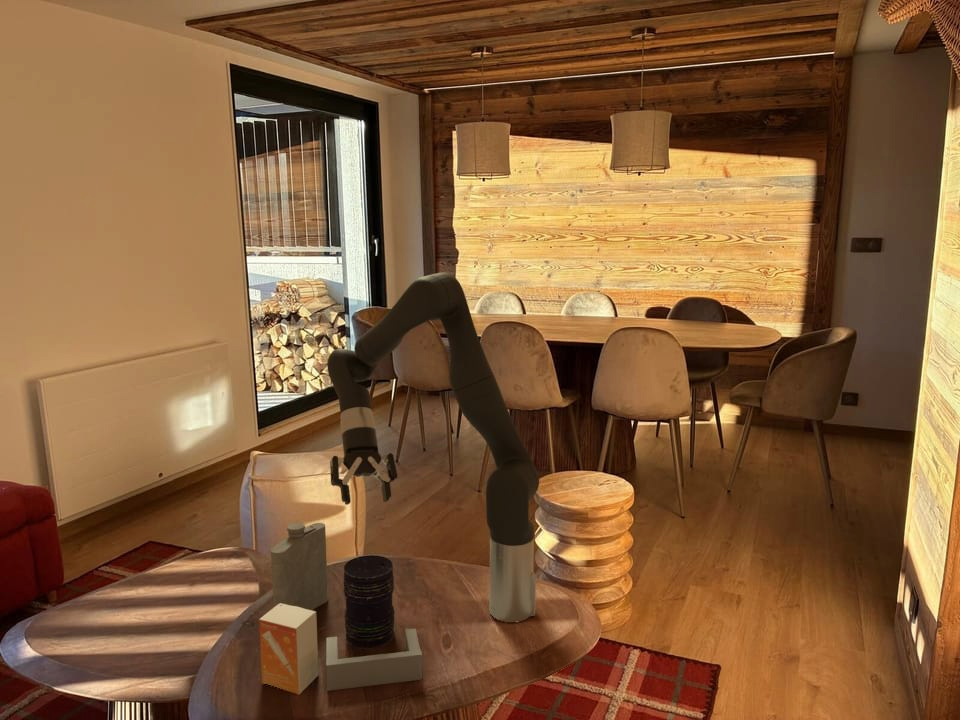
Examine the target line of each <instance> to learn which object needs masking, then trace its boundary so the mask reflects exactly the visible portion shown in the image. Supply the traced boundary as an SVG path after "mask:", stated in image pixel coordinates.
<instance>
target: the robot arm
mask: <svg viewBox="0 0 960 720" xmlns="http://www.w3.org/2000/svg"><path fill="white" fill-rule="evenodd" d="M472 318H473V317H472V314H471V310H470V307H469V304H468V300H467V298H466V294H465V292H464V289H463V287H462V284H461V283H460V282H459V280H458V278H457V277H455V276H454V275H453V274H452V273H449V272H446V271H445V272H444V271H443V272H438V273H437V272H436V273H432V274H428V275H425V276H421V277H419V278H418V277H417V278H416V279H415V280H414V281H413V282H412V283H410V285H409V286H408V287H407V288H406V289H405V291H404V292H403V293H402V295H401V296H400V297H399V299H398V300H397V301H396V302H395V304H394V305H393V306H392V307H391V309H390V310H388V312H387V313H386V314H385V315H384V316H383V317H382V318H381V319H380V320H379V321H378V322H377V323H375V324H374V325H373V326H372V327H370V329H368V330H367V331H365V333H363V334H362V335H361V336H360V337H359V338H357V340H356V342H355V343H354V350H351V349H345V348H337V349H334V350H333V351H332V352H331V353H330V354H329V356H328V359H327V364H326V365H327V366H326V367H327V373H328V376H329V379H330V381H331V384H332V387H333V389H334V390H335V394H336V395H337V398H338V402H339V403H338V404H339V410H340V411H339V413H340V433H341V439H342V448H343V457H338V456H337V455H333V456H332V457H331V459H330V461H329V465H330V467H329V468H330V484H331V486H333V487H335V486H336V487H338V488H339V489H340V496H341V497H340V498H341V501H342V503H344V504H345V505H346V506H347V505H350V504H351V501H352V500H351V493H350V492H351V491H350V485H349V484H348V483H349V482H350V480H351V479H352V477H353V476H355V477H356V478H358V477H362V476H364V477H370V476H373V477H374V479H376V480H378V481H379V482H380V484H381V485H380V487H381V494H382V501H383V503H386V502H389V501H390V498H392V491H391V485H390V484H391V483H394V481H395V480H396V479H397V478H398V472H397V467H396V463H395V458H394V454H393V453H391V452H390V453H388V454H385V455H384V454H383V455H381V453H380V452H379V446H378V439H377V431H376V424H375V423H376V422H375V419H374V415H373V410H372V402H371V401H372V400H371V395H370V392H369V389H368V388H367V387H365V386H363V385H361V384H359V383H361V382H364V381H367V380H369V379H370V378H371V377H372V376H373V374H374V372H375V371H376V369H377V367H378V366H379V364H380V362H381V361H382V360H384V359H385V358H386V357H388V356H389V355H390V354H392V353H393V352H394V351H395V350H396V349H397V348H398V347H399V345H400V344H401V343H402V341H403V339H404V337H405V336H406V335H407V334H408V333H409V332H410V331H412V330H413V329H415V328H417V327H419V326H421V325H423V324H425V323H427V322H430V321H436V320H440V322H441V324H442V326H443V330H444V331H445V334H446V337H447V341H448V349H449V359H448V361H449V362H448V377H449V379H448V380H449V385H450V387H451V391H453V392H452V393H453V395H454V397H455V400H456V403H457V404H458V407H459V409H460V411H461V413H462V414H463V416H464V418H465V419H466V420H467V421H468V422H469V424H470V425H471V426H472V427H473V428H474V429H475V430H476V431H477V432H478V433H479V434H480V436H481V437H482V438H483V440H485V443H486V444H487V446H488V447H489V450H490V453H491V454H492V457H493V460H494V463H495V467H496V469H495V470H493V471H492V473H490V475H489V476H488V479H487V480H486V488H485V508H486V509H485V510H486V512H485V513H486V523H487V527H488V529H489V587H488V588H489V590H488V591H489V593H488V595H489V597H488V599H489V600H488V606H489V607H488V608H489V610H488V611H490V612H489V615H490V614H491V615H492V616H493V617H494V618H493V617H492V616H491V615H490V616H491V617H492V618H493V619H495V618H496V619H497V621H499V620H501V621H500V622H502V621H505V622H504V623H507V622H516V621H521V620H524V619H526V618H527V617H529V616H531V615H535V616H536V599H537V598H536V595H537V594H536V587H537V575H536V572H535V571H534V556H535V555H534V545H535V544H534V543H535V542H534V541H535V538H534V537H535V526H534V524H533V521H531V520H530V519H529V518H530V517H529V516H530V515H529V505H530V504H529V503H530V502H529V501H530V500H531V499H532V498H533V497H534V496H535V495H536V493H537V492H538V490H539V487H540V477H539V472H538V469H537V468H536V466H535V464H534V462H533V460H532V458H531V456H530V454H529V453H528V450H527V449H526V446H525V445H524V443H523V441H522V439H521V437H520V435H519V433H518V432H517V429H516V427H515V424H514V421H513V419H512V416H511V414H510V411H509V410H508V407H507V404H506V402H505V400H504V397H503V394H502V391H501V389H500V387H499V384H498V381H497V379H496V377H495V375H494V372H493V370H492V368H491V366H490V363H489V362H488V359H487V356H486V354H485V351H484V349H483V346H482V344H481V341H480V337H479V336H478V333H477V330H476V327H475V324H474V321H473V319H472ZM381 462H382V463H383V464H384V466H385V467H386V470H387V472H385V470H384V469H383V467H381V465H380V464H381ZM342 464H343V466H345V468H347V472H346V474H345V475H344V477H343V478H340V471H339V470H340V469H339V468H341V466H342ZM496 619H495V620H496Z"/></svg>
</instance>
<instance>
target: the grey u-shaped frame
mask: <svg viewBox="0 0 960 720" xmlns="http://www.w3.org/2000/svg"><path fill="white" fill-rule="evenodd" d="M404 634H405V636H404V640H405V642H404V643H405V644H404V645H405V651H400V652H392V653H390V652H389V653H380V654H379V653H378V654H372V655H371V654H370V655H364V656H354V657H346V658H339V654H338V651H339V649H338V636H330V637H326V652H325V653H326V660H325V666H326V668H325V670H326V691H327V692H328V691H338V690H343V689H353V688H354V689H355V688H361V687H362V688H363V687H368V686H369V687H370V686H378V685H379V686H380V685H385V684H393V683H395V684H397V683H403V682H404V683H405V682H411V681H419V680H423V654H422V653H423V652H422V649H420V648H421V647H420V643H419V639H418V634H417V630H416V628H405V629H404Z"/></svg>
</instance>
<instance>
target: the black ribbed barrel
mask: <svg viewBox="0 0 960 720" xmlns="http://www.w3.org/2000/svg"><path fill="white" fill-rule="evenodd" d="M393 569H394V563H393V561H392V560H391V559H389V558H388V557H386V556H383V555H376V554H375V555H374V554H371V555H368V554H367V555H361V556H357V557H355V558H351V559H349V561H347V562H346V563H345V564H344V566H343V593H344V594H343V595H344V596H345V610H344V627H345V640H346V641H347V643H348V644H349V645H351V647H354V648H359V649H362V650H363V649H364V650H365V649H367V650H368V649H376V648H379V647H382V646H385V645H386V644H388V643H390V642H391V641H392V640H393V638H394V636H395V630H394V627H395V612H396V611H395V607H394V605H393V593H394V589H395V585H394V584H395V581H394V577H395V576H394V570H393Z"/></svg>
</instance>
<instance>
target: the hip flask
mask: <svg viewBox="0 0 960 720" xmlns="http://www.w3.org/2000/svg"><path fill="white" fill-rule="evenodd" d="M286 531H287V532H288V536H286V537H284V538H283V539H282V540H281V541H279V542H278V543H276V544H275V545H274V546H273V547H272V548H270V563H271V564H270V565H271V581H272V583H271V584H272V587H271V588H272V602H273V603H272V604H273V608H274V607H275V606H277V605H278V604H279V603H282V604H286V605H291V606H297V607H301V608H304V609H308V610H312V611H315V610H316V609H317V608H318V607H321V606H322V605H323V604H326V603H327V602H328V601H329V597H328V596H329V591H328V590H329V589H328V569H327V568H328V567H327V566H328V565H327V538H326V537H327V535H326V534H327V533H326V524H325V523H323V522H316V523H315V522H314V523H312V524H309V525H307V526H306V525H305V523H304V522H299V521H298V522H292V523H289V524H288V525H287V526H286Z"/></svg>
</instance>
